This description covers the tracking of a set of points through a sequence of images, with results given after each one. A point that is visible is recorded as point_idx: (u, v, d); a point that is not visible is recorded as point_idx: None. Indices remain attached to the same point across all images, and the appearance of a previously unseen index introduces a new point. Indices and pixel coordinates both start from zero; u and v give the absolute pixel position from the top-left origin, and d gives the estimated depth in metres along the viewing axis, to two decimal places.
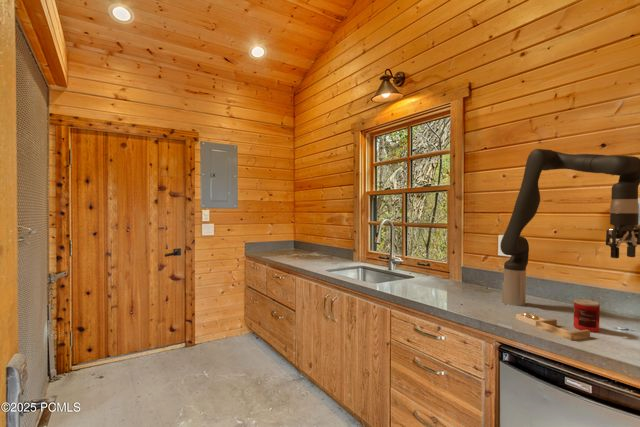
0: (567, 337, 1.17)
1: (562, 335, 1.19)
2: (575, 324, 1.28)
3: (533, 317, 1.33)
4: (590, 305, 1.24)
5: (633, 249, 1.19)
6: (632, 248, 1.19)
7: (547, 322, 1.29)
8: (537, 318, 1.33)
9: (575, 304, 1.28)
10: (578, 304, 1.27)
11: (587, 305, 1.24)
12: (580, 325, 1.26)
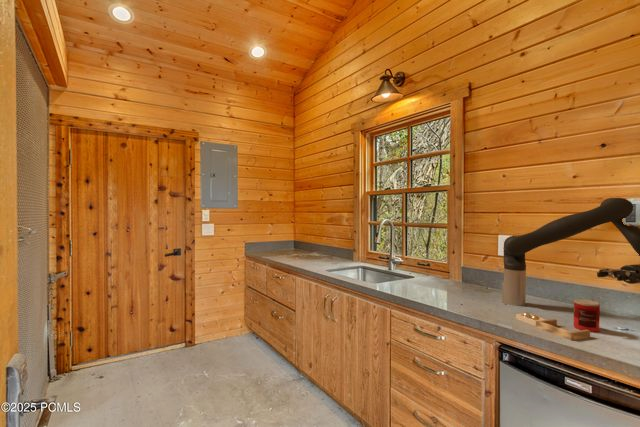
0: (567, 337, 1.17)
1: (562, 335, 1.19)
2: (575, 324, 1.28)
3: (533, 317, 1.33)
4: (590, 305, 1.24)
5: (604, 276, 1.35)
6: (604, 275, 1.35)
7: (547, 322, 1.29)
8: (537, 318, 1.33)
9: (575, 304, 1.28)
10: (578, 304, 1.27)
11: (587, 305, 1.24)
12: (580, 325, 1.26)
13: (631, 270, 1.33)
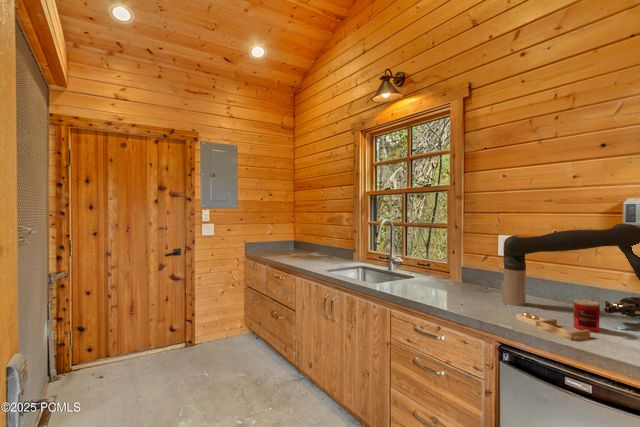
0: (567, 337, 1.17)
1: (562, 335, 1.19)
2: (575, 324, 1.28)
3: (533, 317, 1.33)
4: (590, 305, 1.24)
5: None
6: None
7: (547, 322, 1.29)
8: (537, 318, 1.33)
9: (575, 304, 1.28)
10: (578, 304, 1.27)
11: (587, 305, 1.24)
12: (580, 325, 1.26)
13: (631, 303, 1.34)
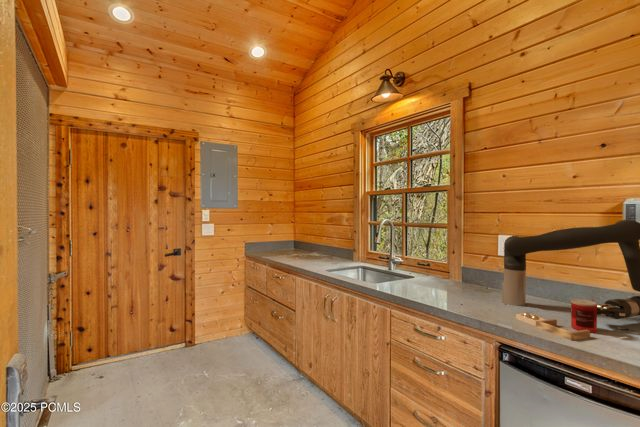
0: (567, 337, 1.17)
1: (562, 335, 1.19)
2: (573, 324, 1.27)
3: (533, 317, 1.33)
4: (587, 305, 1.23)
5: None
6: None
7: (547, 322, 1.29)
8: (537, 318, 1.33)
9: (572, 304, 1.28)
10: (575, 304, 1.26)
11: (584, 305, 1.24)
12: (577, 326, 1.26)
13: (615, 305, 1.31)
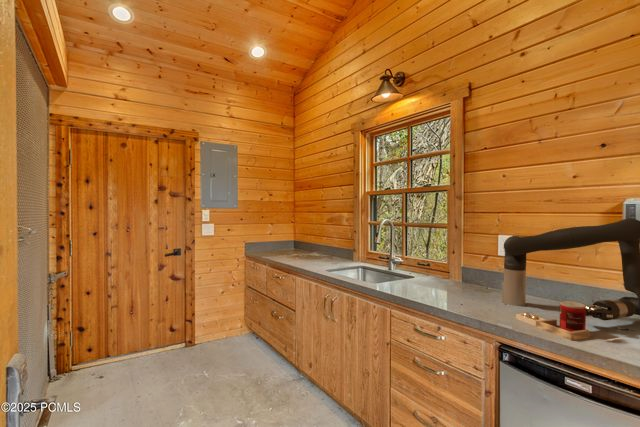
0: (567, 337, 1.17)
1: (562, 335, 1.19)
2: (562, 327, 1.24)
3: (533, 317, 1.33)
4: (578, 307, 1.21)
5: None
6: None
7: (547, 322, 1.29)
8: (537, 318, 1.33)
9: (562, 307, 1.25)
10: (565, 307, 1.23)
11: (575, 308, 1.21)
12: (567, 329, 1.23)
13: (603, 306, 1.29)
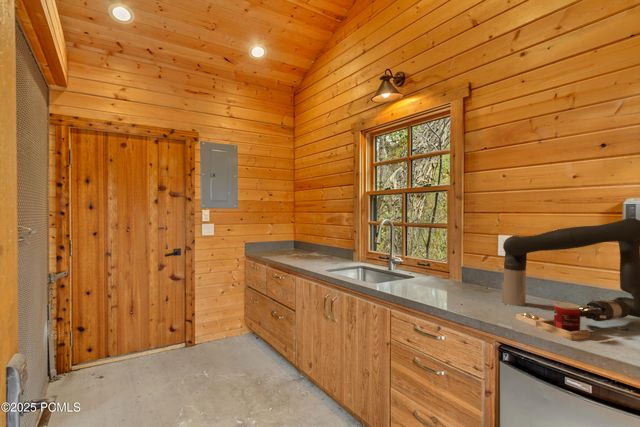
0: (567, 337, 1.17)
1: (562, 335, 1.19)
2: None
3: (533, 317, 1.33)
4: (574, 309, 1.19)
5: None
6: None
7: (547, 322, 1.29)
8: (537, 318, 1.33)
9: (557, 308, 1.23)
10: (561, 308, 1.21)
11: (571, 309, 1.19)
12: None
13: (597, 307, 1.28)
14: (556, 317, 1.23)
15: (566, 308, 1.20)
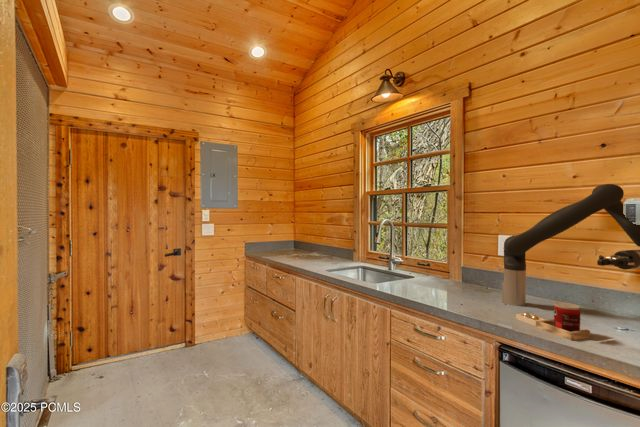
0: (567, 337, 1.17)
1: (562, 335, 1.19)
2: None
3: (533, 317, 1.33)
4: (574, 309, 1.19)
5: None
6: None
7: (547, 322, 1.29)
8: (537, 318, 1.33)
9: (557, 308, 1.23)
10: (561, 308, 1.21)
11: (571, 309, 1.19)
12: None
13: (625, 256, 1.32)
14: (556, 317, 1.23)
15: (566, 308, 1.20)
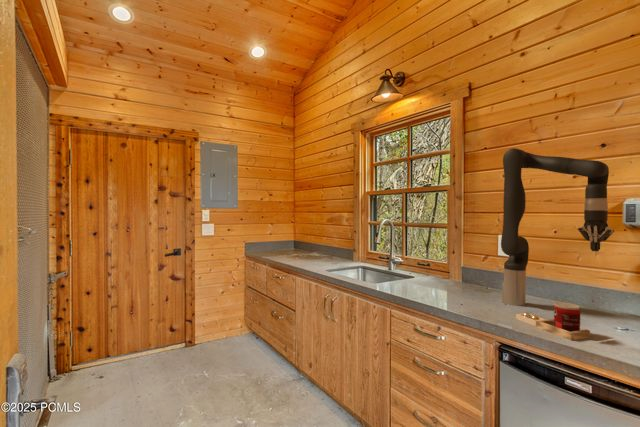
0: (567, 337, 1.17)
1: (562, 335, 1.19)
2: None
3: (533, 317, 1.33)
4: (574, 309, 1.19)
5: None
6: None
7: (547, 322, 1.29)
8: (537, 318, 1.33)
9: (557, 308, 1.23)
10: (561, 308, 1.21)
11: (571, 309, 1.19)
12: None
13: (594, 221, 1.37)
14: (556, 317, 1.23)
15: (566, 308, 1.20)
